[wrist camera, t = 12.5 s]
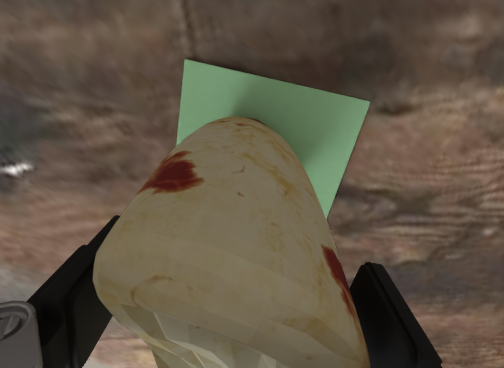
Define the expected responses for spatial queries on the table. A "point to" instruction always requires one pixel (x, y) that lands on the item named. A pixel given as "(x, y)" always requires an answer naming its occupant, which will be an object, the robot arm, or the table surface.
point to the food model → (230, 259)
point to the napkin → (278, 117)
